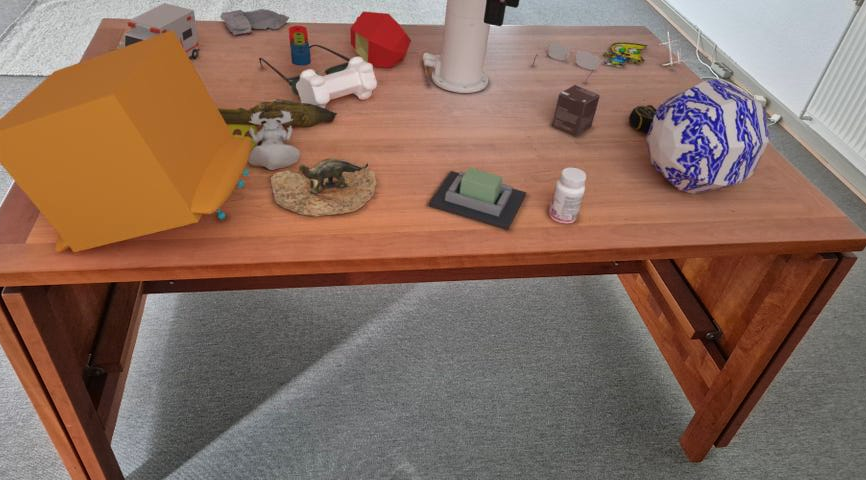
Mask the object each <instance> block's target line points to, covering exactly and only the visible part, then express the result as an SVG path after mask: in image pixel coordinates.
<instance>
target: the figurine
mask: <svg viewBox="0 0 866 480" xmlns="http://www.w3.org/2000/svg"><path fill="white" fill-rule="evenodd" d="M281 112H282V113H283V115H284V116H283V118H279V117H278V118H275V119H271V118H270V119H265V118H263V119H259V115H260V113H261V112H257V113H255V114H254V113H253V115H252V116H253V118H252V116H251V119H252V121H249V122H250V123H252V124H254V125H258V126H261V128H260V129H259V131H257V132H258V133H257V135H256V136H255V134H254V129H253V130H252V127H251V128H250V132H249V133H250V134H251V136H252V138H253V143H254V142H256V147H254V149H253V150H252V151H251V152H250V156H249V160H248V162H247V163H248V164H249V165H251V166H254V167H264V168H266V169H267V170H270V171H275V170H278V169H284V168H285V169H286V168H288V167H290V166H293V165H294V164H295V163H297V162H299V160H300V158H301V152H300V150H299V149H298V148H297V147H295V146H293V145H291V144H286V142H288V141H290V140H291V138H292V137H291V136H292V134H293V132H294V129H293V127H291V126H289V127H286V128H287V130H286V129H285V128H284V127H285V126H282V125H281V124H284V123H287V122H290V121H292V120H293V119H291V115H290V113H289V112H287V111H281ZM277 120H280V121H281V123H279V122H278V121H277ZM262 121H266V123H265V124H263V125H262V124H261V122H262ZM260 142H261V144H260V145H258V146H257V143H258V144H259V143H260Z"/></svg>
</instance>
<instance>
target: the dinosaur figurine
mask: <svg viewBox="0 0 866 480" xmlns="http://www.w3.org/2000/svg"><path fill="white" fill-rule="evenodd" d="M368 168H369V163H368V162H367V163H365V165H364V164H362V163H352V162H351V161H348V160H345V159H343V158H326V159H323V160H320V161H318V162H317V163H316V164H315V165H313V166H312V167H310V168H309V167H308V166H306V165H305V164H300V165H299V167H298V172H293V171H291V170H288V169H286V170H285V171H278V172H276V173H273V175H272V176H271V177H270V179H269V180H270V185H271V187H272V191H271V192H272V194H273V199H274V202H275V203H276V204H277V205H278V206H280V207H281V208H282V209H286V210H289V211H291V212H294V213H295V214H299V215H303V216H309V217H313V218H314V217H315V218H317V217H322V216H332V215H341V214H347V213H352V212H356V211H358V210H359V209H361V208H362V207H364V206H365V205H366V204H367V202H368V201H370V200H371V199H372V198H373V196H374V194H375V190H376V189H375V188H376V186H378V183H377V179H376V175H375V171H374V170H369V169H368Z"/></svg>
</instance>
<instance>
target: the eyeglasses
mask: <svg viewBox="0 0 866 480" xmlns="http://www.w3.org/2000/svg"><path fill="white" fill-rule="evenodd" d="M547 46H548V47H547ZM546 47H547V48H548V50H547V51H548V55H549V57H550V58H552V59H554V60H557V61H560V62H562V61H563V62H564V61H566V60H568V59H569V57H570V55H571V52H572V53H575V54H576V55H574V60H575V62H576V64H577V65H578V67H581V68H583V69H586V70H588V71H592V72H590V74H589V75H588V76H587V78H586V80H585V82H587V81H588V79H589V77H590V76H591V75H592V74H593V73H594V71H595V70H596V69H597V68H598V67H599V66H600V64H601V63H602V59H601V58H600V56H598V55H596V54H594V53H592V52H588V51H585V50H578V51H575V50H571V48H570V47H569V46H568V45H565V44H562V43H558V42H553V41H552V42H549V43H546V44H545V45H544V46H543V47H542V49H541V50H539V52H538V53H537V54H536V55H535V56H534V58H533V63H532V67H534V64H535V60H536V58H537V57H538V55H539V54H540V53H541V52H542V51H543V50H544V49H546Z"/></svg>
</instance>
